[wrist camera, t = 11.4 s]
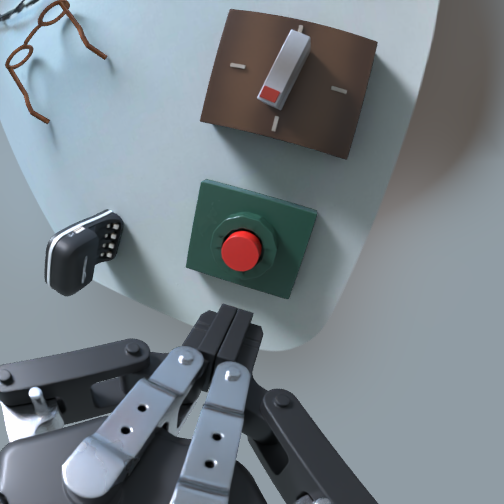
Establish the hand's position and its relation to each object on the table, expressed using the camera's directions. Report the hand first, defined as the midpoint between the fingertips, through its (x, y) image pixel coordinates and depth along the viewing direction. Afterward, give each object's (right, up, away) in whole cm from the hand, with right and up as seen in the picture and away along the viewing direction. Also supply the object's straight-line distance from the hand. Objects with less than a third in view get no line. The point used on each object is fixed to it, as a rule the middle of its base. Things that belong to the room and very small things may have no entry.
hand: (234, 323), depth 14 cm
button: (0, +4, +16) cm, 17 cm away
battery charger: (-17, +5, +23) cm, 29 cm away
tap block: (+5, +20, +12) cm, 24 cm away
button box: (+1, +5, +19) cm, 20 cm away
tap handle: (+4, +19, +10) cm, 22 cm away
